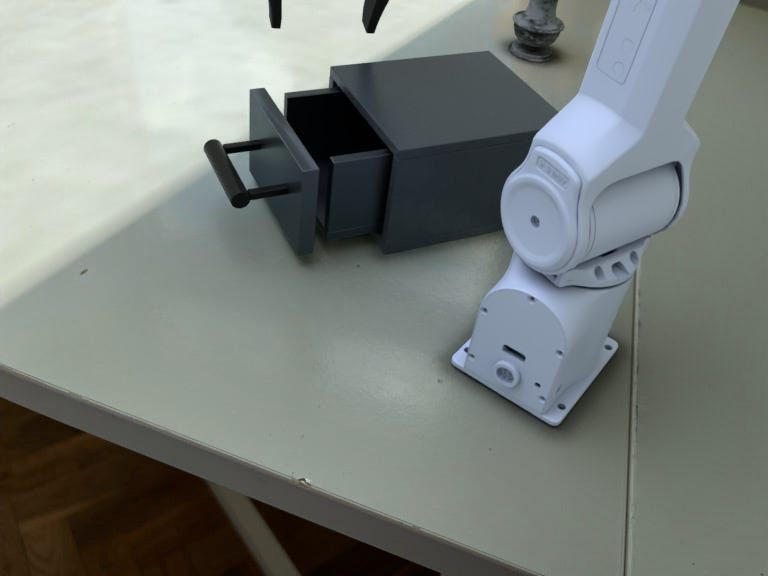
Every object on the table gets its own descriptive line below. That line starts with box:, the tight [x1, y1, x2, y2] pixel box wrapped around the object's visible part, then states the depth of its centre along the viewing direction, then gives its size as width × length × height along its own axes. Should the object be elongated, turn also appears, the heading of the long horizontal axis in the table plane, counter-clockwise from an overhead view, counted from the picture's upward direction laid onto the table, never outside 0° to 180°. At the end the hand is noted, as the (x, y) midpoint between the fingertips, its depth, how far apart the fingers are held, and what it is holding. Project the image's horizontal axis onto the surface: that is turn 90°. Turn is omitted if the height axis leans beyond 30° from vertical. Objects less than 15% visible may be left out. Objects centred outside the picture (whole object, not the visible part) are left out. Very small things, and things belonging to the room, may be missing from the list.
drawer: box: [203, 87, 394, 257], centre depth 59 cm, size 18×11×7 cm, turn 115°
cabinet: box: [328, 50, 560, 255], centre depth 63 cm, size 15×13×9 cm
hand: (322, 24), depth 63 cm, fingers open, 7 cm apart
